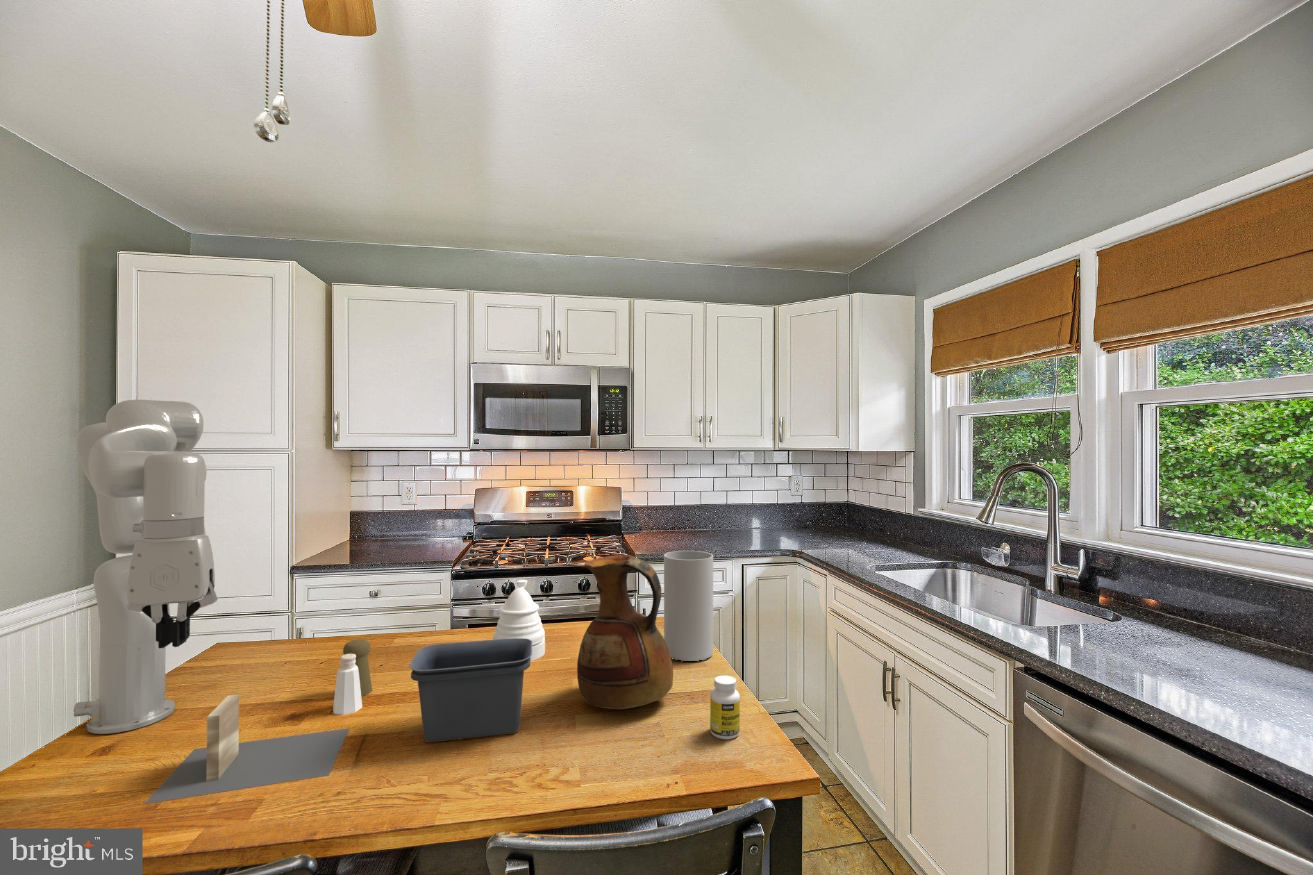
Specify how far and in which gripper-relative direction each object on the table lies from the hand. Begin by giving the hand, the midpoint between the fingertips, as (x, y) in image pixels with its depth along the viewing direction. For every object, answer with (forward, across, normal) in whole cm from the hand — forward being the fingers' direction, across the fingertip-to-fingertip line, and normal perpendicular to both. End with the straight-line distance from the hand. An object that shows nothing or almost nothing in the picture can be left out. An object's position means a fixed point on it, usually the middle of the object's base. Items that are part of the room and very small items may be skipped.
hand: (172, 644), depth 92 cm
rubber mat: (+21, +12, 0) cm, 24 cm away
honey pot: (+21, +57, +39) cm, 72 cm away
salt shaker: (+21, +22, +17) cm, 35 cm away
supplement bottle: (+21, +90, -14) cm, 94 cm away
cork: (+21, +22, +26) cm, 40 cm away
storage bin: (+21, +46, +3) cm, 51 cm away
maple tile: (+21, +7, 0) cm, 22 cm away
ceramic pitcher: (+21, +76, +5) cm, 79 cm away
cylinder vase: (+21, +98, +26) cm, 104 cm away
